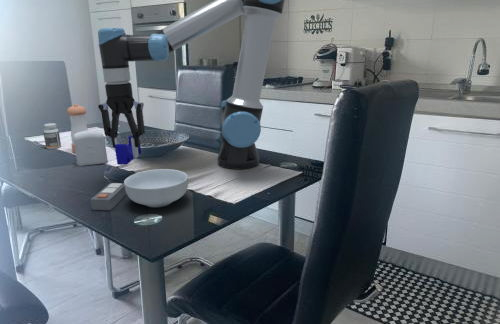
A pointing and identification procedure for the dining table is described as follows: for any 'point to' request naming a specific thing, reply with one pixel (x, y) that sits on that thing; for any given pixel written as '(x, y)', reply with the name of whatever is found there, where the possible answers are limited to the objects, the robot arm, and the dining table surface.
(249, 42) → the robot arm
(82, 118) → the pepper shaker
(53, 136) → the pill bottle
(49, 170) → the dining table surface
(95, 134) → the photo printer
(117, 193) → the power strip
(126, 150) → the blue bridge block
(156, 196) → the cereal bowl
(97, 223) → the dining table surface
